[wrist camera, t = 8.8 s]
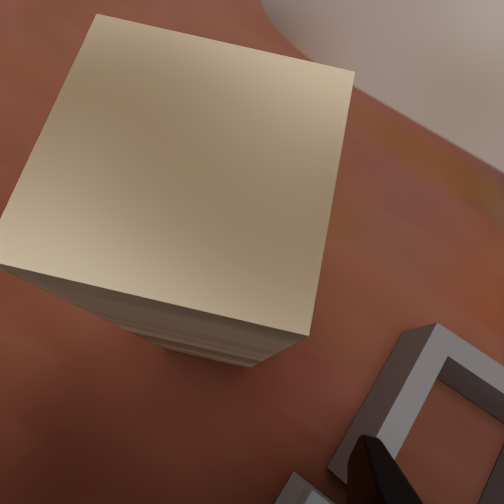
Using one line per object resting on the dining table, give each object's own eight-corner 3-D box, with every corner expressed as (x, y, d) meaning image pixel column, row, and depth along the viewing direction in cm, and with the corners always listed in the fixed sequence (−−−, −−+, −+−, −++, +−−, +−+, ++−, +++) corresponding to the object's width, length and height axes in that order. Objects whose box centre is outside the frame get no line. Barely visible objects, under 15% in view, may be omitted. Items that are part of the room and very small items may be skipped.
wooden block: (249, 368, 19) (309, 335, 5) (162, 347, 19) (-19, 258, 5) (267, 283, 21) (355, 71, 6) (186, 264, 21) (96, 13, 7)
